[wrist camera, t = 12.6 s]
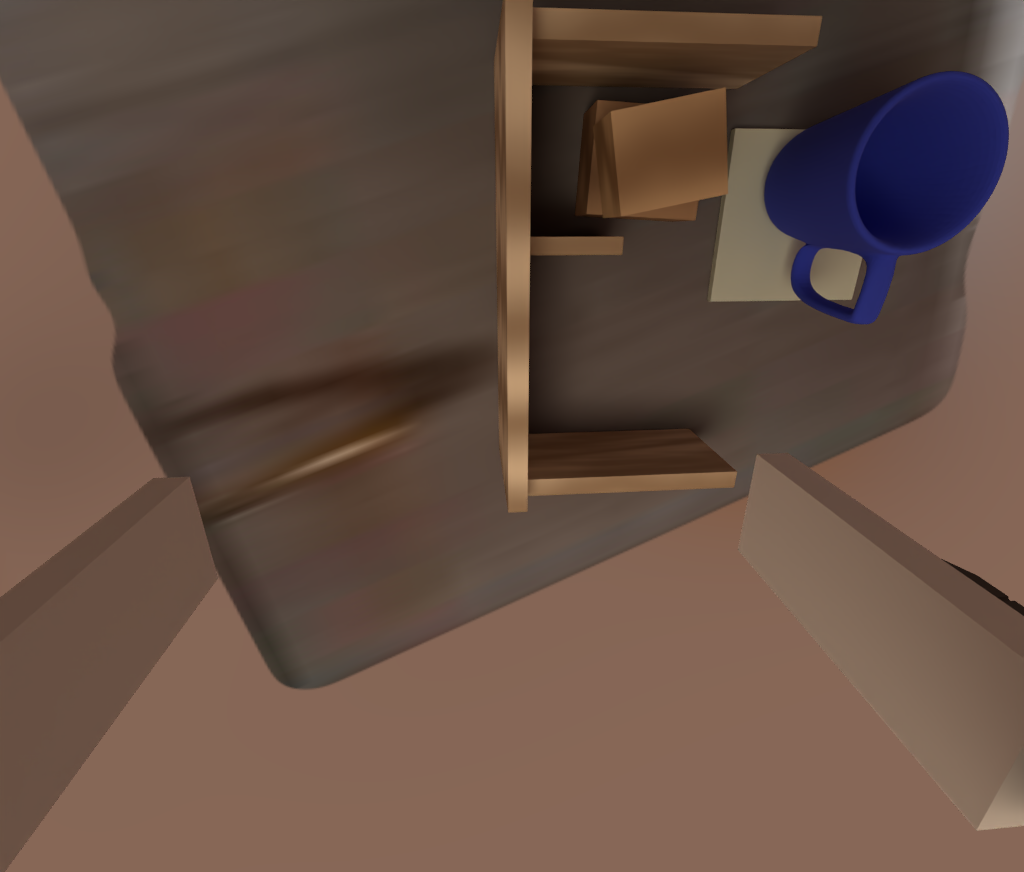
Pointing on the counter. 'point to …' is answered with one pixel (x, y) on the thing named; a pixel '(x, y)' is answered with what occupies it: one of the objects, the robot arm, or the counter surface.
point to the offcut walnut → (589, 181)
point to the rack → (612, 63)
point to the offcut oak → (662, 153)
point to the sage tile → (765, 233)
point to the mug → (888, 180)
